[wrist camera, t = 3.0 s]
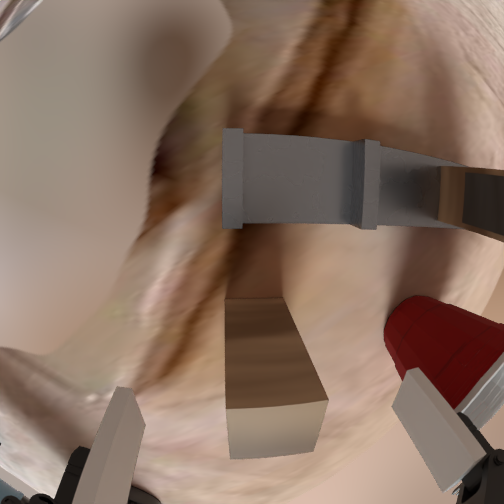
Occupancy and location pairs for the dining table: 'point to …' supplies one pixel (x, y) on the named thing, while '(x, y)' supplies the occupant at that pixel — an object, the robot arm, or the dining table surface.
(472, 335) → the plastic cup
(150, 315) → the dining table surface
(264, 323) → the tan wooden block
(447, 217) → the block
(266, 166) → the rail
